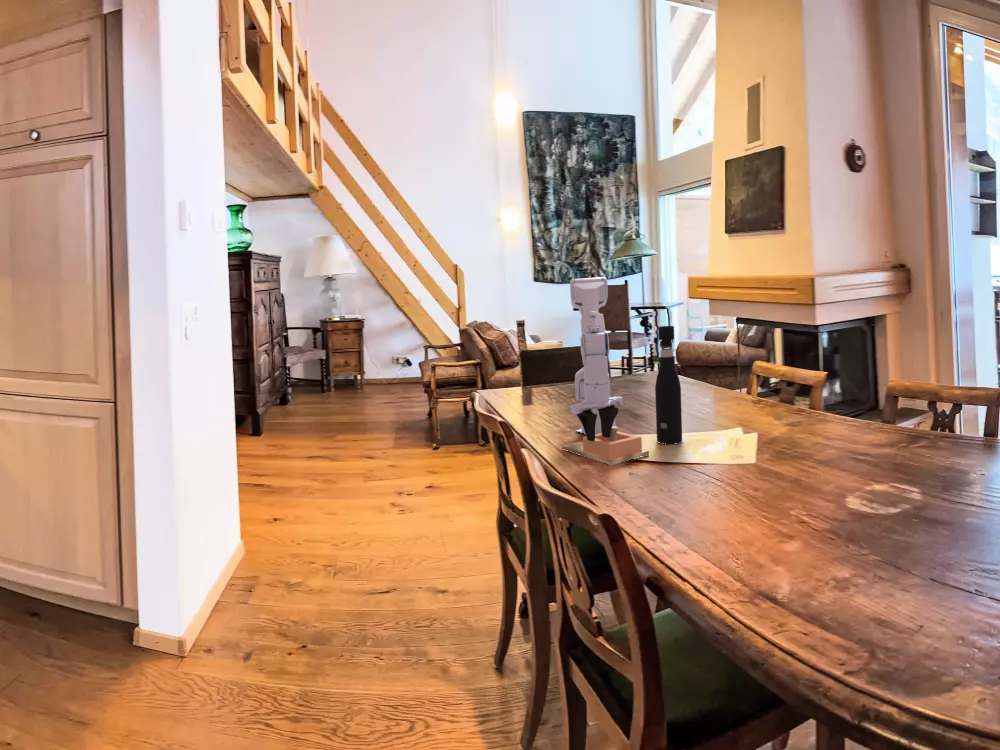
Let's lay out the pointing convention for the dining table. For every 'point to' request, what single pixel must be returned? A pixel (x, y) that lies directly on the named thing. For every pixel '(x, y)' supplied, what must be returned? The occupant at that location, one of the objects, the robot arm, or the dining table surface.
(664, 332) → the black water bottle
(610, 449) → the pink square frame
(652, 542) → the dining table surface
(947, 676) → the dining table surface
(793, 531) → the dining table surface
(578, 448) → the thin beige base plate
